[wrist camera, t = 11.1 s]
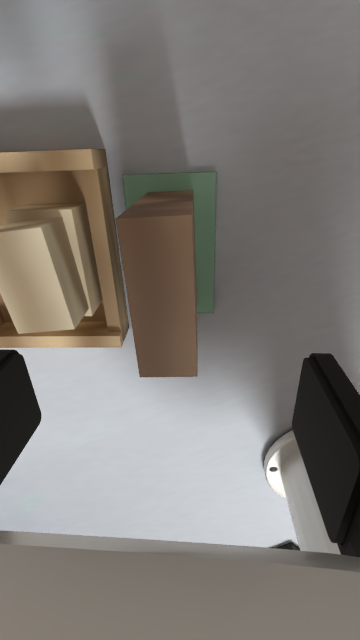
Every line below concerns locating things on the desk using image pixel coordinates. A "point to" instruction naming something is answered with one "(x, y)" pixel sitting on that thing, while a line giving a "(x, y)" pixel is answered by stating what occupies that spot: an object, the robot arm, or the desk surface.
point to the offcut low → (78, 238)
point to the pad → (202, 217)
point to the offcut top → (40, 276)
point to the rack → (93, 188)
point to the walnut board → (161, 281)
